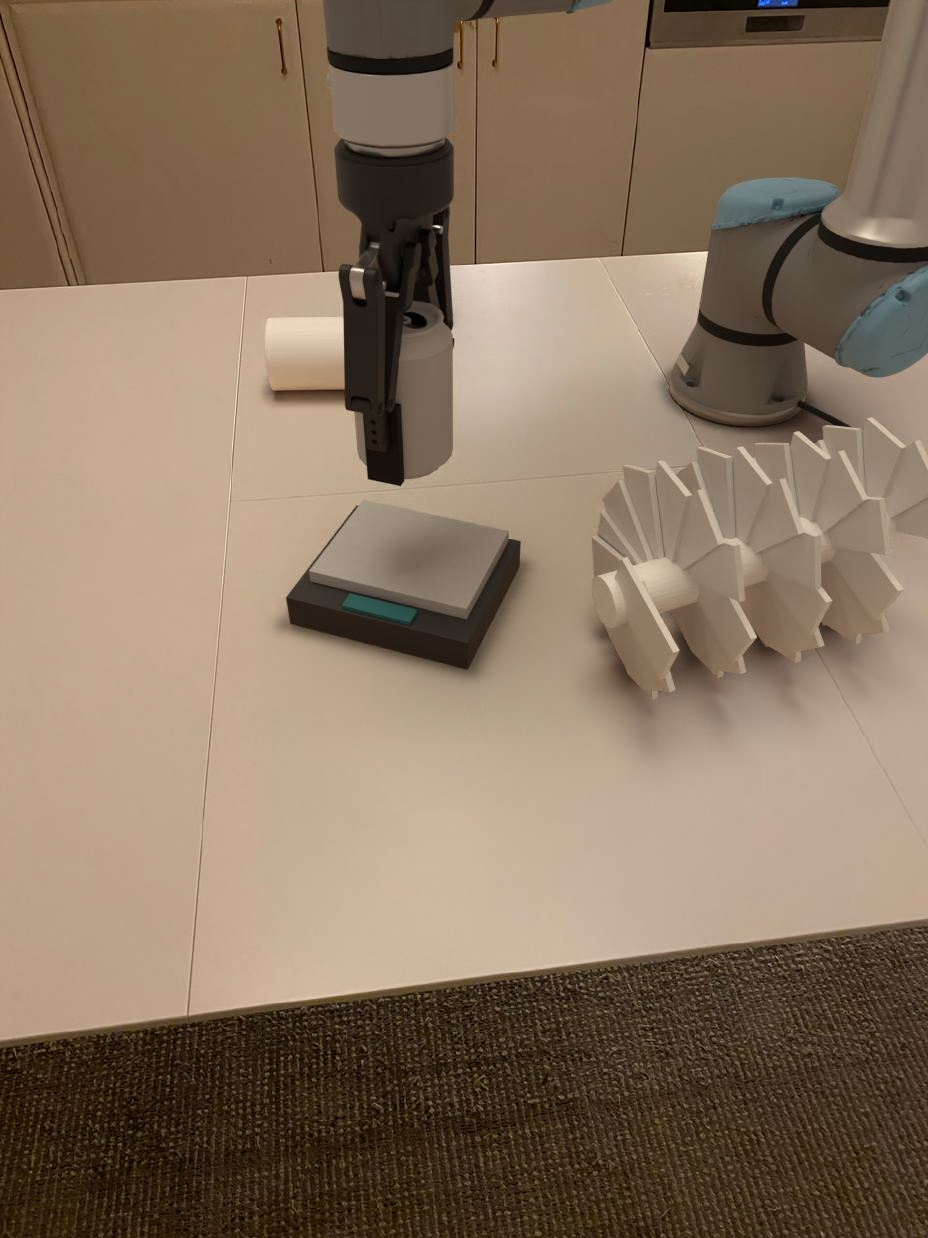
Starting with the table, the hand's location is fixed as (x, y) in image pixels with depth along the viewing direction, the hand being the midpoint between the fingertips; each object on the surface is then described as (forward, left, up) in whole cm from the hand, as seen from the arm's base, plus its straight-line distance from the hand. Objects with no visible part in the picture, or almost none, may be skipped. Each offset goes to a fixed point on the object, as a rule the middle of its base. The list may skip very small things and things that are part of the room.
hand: (406, 452), depth 75 cm
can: (0, 0, -1) cm, 1 cm away
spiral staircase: (-27, -3, -14) cm, 31 cm away
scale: (0, +1, -14) cm, 14 cm away
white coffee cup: (+25, -32, -14) cm, 43 cm away
